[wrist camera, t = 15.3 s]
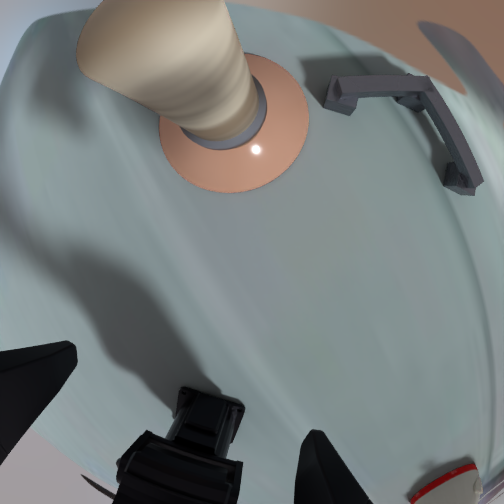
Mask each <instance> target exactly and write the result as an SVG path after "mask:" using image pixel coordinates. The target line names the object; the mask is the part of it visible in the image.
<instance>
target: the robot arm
mask: <svg viewBox="0 0 504 504" xmlns="http://www.w3.org/2000/svg"><path fill="white" fill-rule="evenodd" d="M77 363H78V359H77V350H76V346H75V345H74V344H73V343H71V342H70V341H67V340H66V341H60V342H55V343H49V344H44V345H38V346H32V347H26V348H20V349H13V350H7V351H0V465H1V464H2V463H3V461H4V460H5V459H6V457H7V456H8V454H9V453H10V452H11V450H12V449H13V448H14V446H15V445H16V444H17V443H18V441H19V440H20V438H21V437H22V436H23V435H24V434H25V432H26V431H27V430H28V429H29V427H30V426H31V425H32V424H33V422H34V421H35V420H36V419H37V417H38V416H39V415H40V414H41V413H42V411H43V410H44V409H45V408H46V407H47V405H48V404H49V403H50V402H51V401H52V399H53V398H54V397H55V396H56V395H57V393H58V392H59V391H60V389H61V388H62V387H63V385H64V384H65V382H66V381H67V379H68V378H69V376H70V375H71V373H72V372H73V370H74V369H75V367H76V366H77ZM184 391H185V392H184ZM239 409H241V410H239ZM244 412H245V406H243V405H241V404H237V403H234V402H230V401H227V400H223V399H220V398H217V397H214V396H211V395H207V394H204V393H201V392H198V391H195V390H193V389H190V388H187V387H181V388H180V390H179V395H178V402H177V410H176V417H175V420H174V422H173V424H172V426H171V428H170V430H169V432H168V433H167V435H166V437H165V438H163V437H160V436H158V435H155V434H153V433H152V432H150V431H148V430H146V431H145V432H144V433H143V434H142V435H140V436H139V438H138V439H137V440H136V441H135V442H134V443H133V444H132V445H131V446H130V448H129V449H128V450H127V451H126V452H125V453H124V454H123V455H122V457H121V458H119V459H118V460H117V462H116V465H117V467H118V471H117V475H116V480H117V483H119V484H120V485H119V488H118V491H117V494H116V496H115V498H114V501H113V503H112V504H237V500H238V496H239V491H240V484H241V476H242V468H243V462H241V461H233V460H229V459H226V456H227V453H228V449H229V445H230V444H231V443H232V442H233V440H234V438H235V435H236V433H237V430H238V428H239V425H240V423H241V420H242V417H243V415H244ZM368 499H369V497H368V496H367V495H366V493H365V492H364V490H363V489H362V487H361V486H360V485H359V483H358V482H357V480H356V479H355V477H354V476H353V475H352V473H351V472H350V470H349V469H348V467H347V466H346V464H345V463H344V461H343V460H342V459H341V457H340V456H339V454H338V453H337V451H336V450H335V448H334V447H333V445H332V444H331V442H330V441H329V439H328V438H327V436H326V435H325V433H324V432H323V431H321V430H315V429H312V430H311V431H310V432H309V433H308V435H307V436H306V438H305V439H304V441H303V442H302V445H301V449H300V455H299V461H298V467H297V473H296V479H295V492H294V504H373V503H372V501H371V500H370V499H369V500H368Z"/></svg>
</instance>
